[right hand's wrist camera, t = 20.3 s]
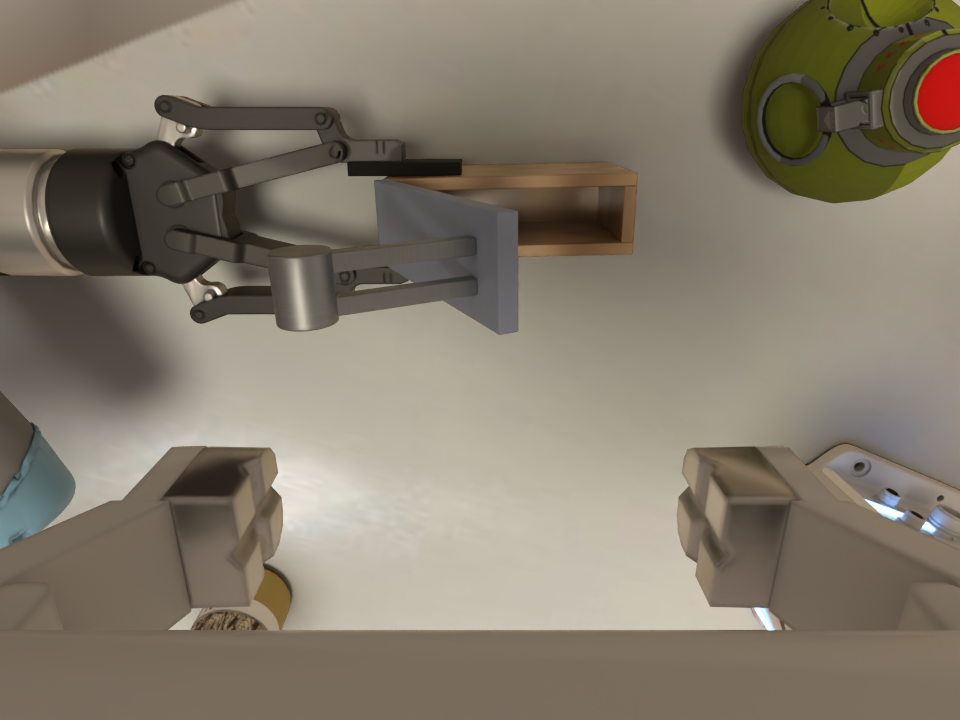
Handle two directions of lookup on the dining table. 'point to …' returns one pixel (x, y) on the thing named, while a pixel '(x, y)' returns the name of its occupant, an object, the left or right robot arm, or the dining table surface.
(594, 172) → the brown rectangular box
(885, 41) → the grenade
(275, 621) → the paper tube
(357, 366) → the dining table surface
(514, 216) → the lid
